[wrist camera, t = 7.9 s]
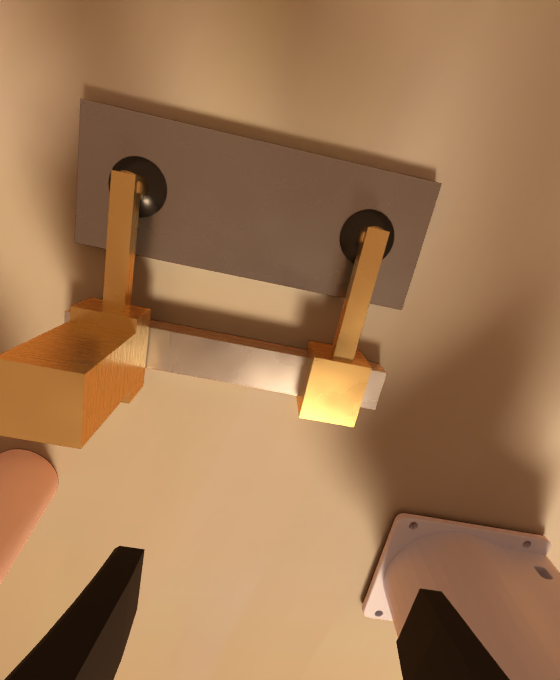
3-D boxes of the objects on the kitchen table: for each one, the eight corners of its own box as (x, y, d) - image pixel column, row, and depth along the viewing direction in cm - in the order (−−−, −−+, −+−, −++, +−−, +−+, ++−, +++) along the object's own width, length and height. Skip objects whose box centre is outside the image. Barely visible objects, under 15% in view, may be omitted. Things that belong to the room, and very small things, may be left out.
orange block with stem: (168, 181, 15) (96, 153, 9) (146, 381, 18) (79, 465, 12) (105, 167, 15) (-13, 129, 9) (92, 371, 18) (-5, 451, 12)
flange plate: (435, 184, 16) (442, 183, 16) (397, 307, 18) (402, 310, 17) (87, 103, 15) (79, 97, 14) (81, 241, 17) (73, 242, 16)
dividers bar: (419, 237, 17) (441, 240, 15) (366, 407, 20) (378, 431, 17) (85, 163, 16) (53, 153, 14) (76, 353, 18) (48, 372, 16)
